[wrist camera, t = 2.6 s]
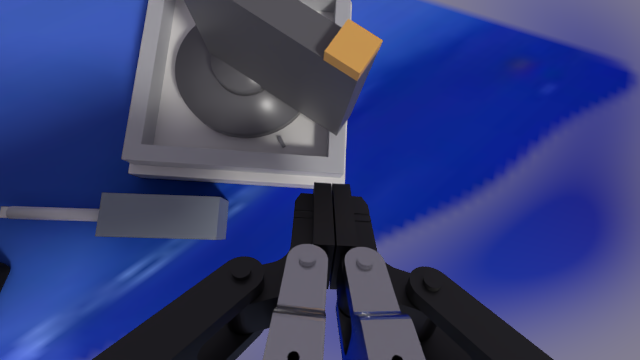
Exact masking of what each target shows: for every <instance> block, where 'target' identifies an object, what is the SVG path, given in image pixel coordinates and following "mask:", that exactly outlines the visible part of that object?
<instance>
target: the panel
mask: <svg viewBox="0 0 640 360" xmlns="http://www.w3.org/2000/svg"><path fill="white" fill-rule="evenodd" d="M299 1H301V2H302V3H304V4H305V5H307V6H309V7H310V8H312V9H313V10H315V11H316V12H318V13H320V14H321V15H323V16H324V17H326V18H328V19H329V20H331V21H332V22H334V23H336V24H337V25H339V26H340V27H342V26H343V25H344V24H345V22H346V21H347V20H348V19H350V20H351V11H352V2H351V0H299ZM195 25H196V24H195V22H194V20H193V18H192V16H191V14H190V12H189V10H188V8H187V6H186V4H185V2H184V0H149V1H148V7H147V13H146V19H145V24H144V30H143V36H142V42H141V48H140V53H139V59H138V65H137V71H136V77H135V82H134V88H133V94H132V100H131V105H130V111H129V117H128V123H127V129H126V134H125V140H124V146H123V152H122V157H121V159H122V160H125V161H127V162H129V163H130V164H129V170H128V174H131V175H134V176H137V177H139V178H153V179H169V180H185V181H201V182H216V183H232V184H248V185H264V186H280V187H295V188H311V189H314V182H319V183H331V187H332V183H335V184H345V161H346V136H347V121H346V122H345V124H344V125H343V127H342V128H341V130H340V131H339V133H338V134H337V136H336V135H334V134H333V133H331V132H330V131H328V130H327V129H325V128H324V127H322V126H320V125H319V124H317V123H316V122H314V121H313V120H311V119H310V118H308V117H307V116H305V115H303V114H302V113H300V115H299V116H298V117H297V118H296V119H295V120H294V121H293V122H292V123H290V124H289V125H287V126H286V127H285V128H283V129H281V130H279V131H277V132H275V133H272V134H270V135H266V136H262V137H256V138H238V137H232V136H228V135H224V134H222V133H219V132H217V131H215V130H213V129H211V128H209V127H208V126H206V125H205V124H204V123H203V122H201V121H200V120H199V119H198V118H197V117H196V116H195V115H194V114H193V112H192V111H191V110H190V109H189V108H188V106H187V105H186V104H185V102H184V100H183V99H182V97H181V95H180V92H179V90H178V87H177V83H176V79H175V62H176V57H177V53H178V50H179V48H180V45H181V43H182V42H183V40H184V38H185V37H186V35H187V34H188V33H189V31H190V30H191V29H192V28H193V27H194V26H195Z"/></svg>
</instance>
